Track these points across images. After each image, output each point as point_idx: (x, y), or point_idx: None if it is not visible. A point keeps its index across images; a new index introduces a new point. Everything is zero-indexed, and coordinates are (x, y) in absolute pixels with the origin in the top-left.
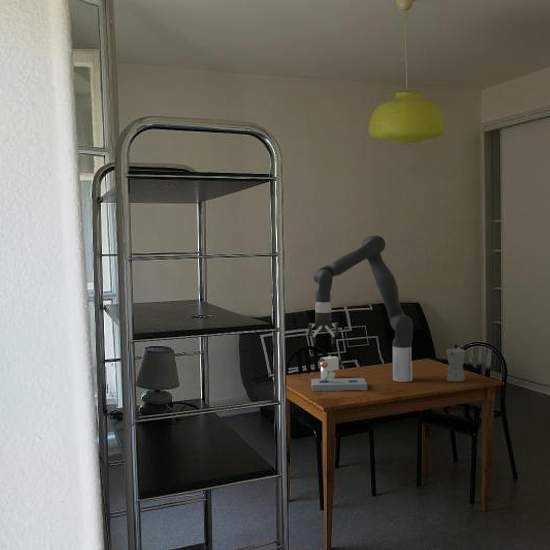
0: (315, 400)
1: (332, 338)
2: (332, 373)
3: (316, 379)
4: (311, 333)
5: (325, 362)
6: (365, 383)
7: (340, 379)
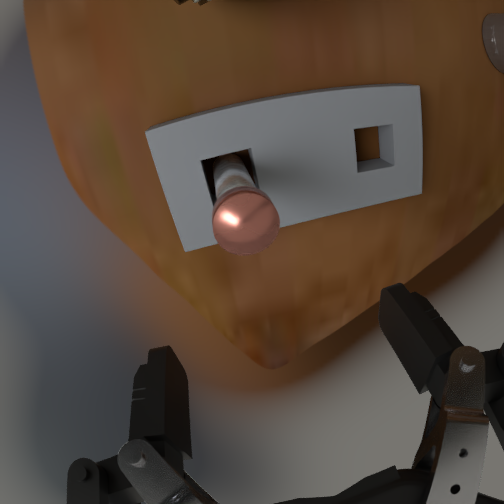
0: (229, 335)
1: (418, 378)
2: None
3: (177, 136)
4: (121, 496)
5: (260, 226)
6: (417, 183)
7: (315, 114)
